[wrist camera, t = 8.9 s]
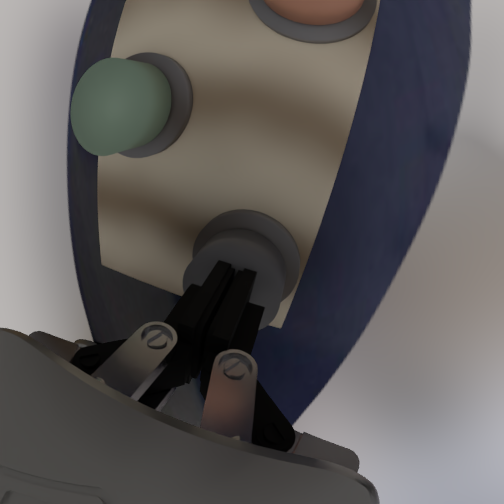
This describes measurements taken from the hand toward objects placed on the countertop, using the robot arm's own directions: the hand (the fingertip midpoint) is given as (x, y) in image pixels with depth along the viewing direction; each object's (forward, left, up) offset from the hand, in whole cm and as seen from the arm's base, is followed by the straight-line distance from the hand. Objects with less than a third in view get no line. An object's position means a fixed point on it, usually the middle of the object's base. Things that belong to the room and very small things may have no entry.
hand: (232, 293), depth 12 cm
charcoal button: (0, 0, -2) cm, 2 cm away
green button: (+2, +10, -2) cm, 10 cm away
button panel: (+4, +7, -6) cm, 10 cm away
